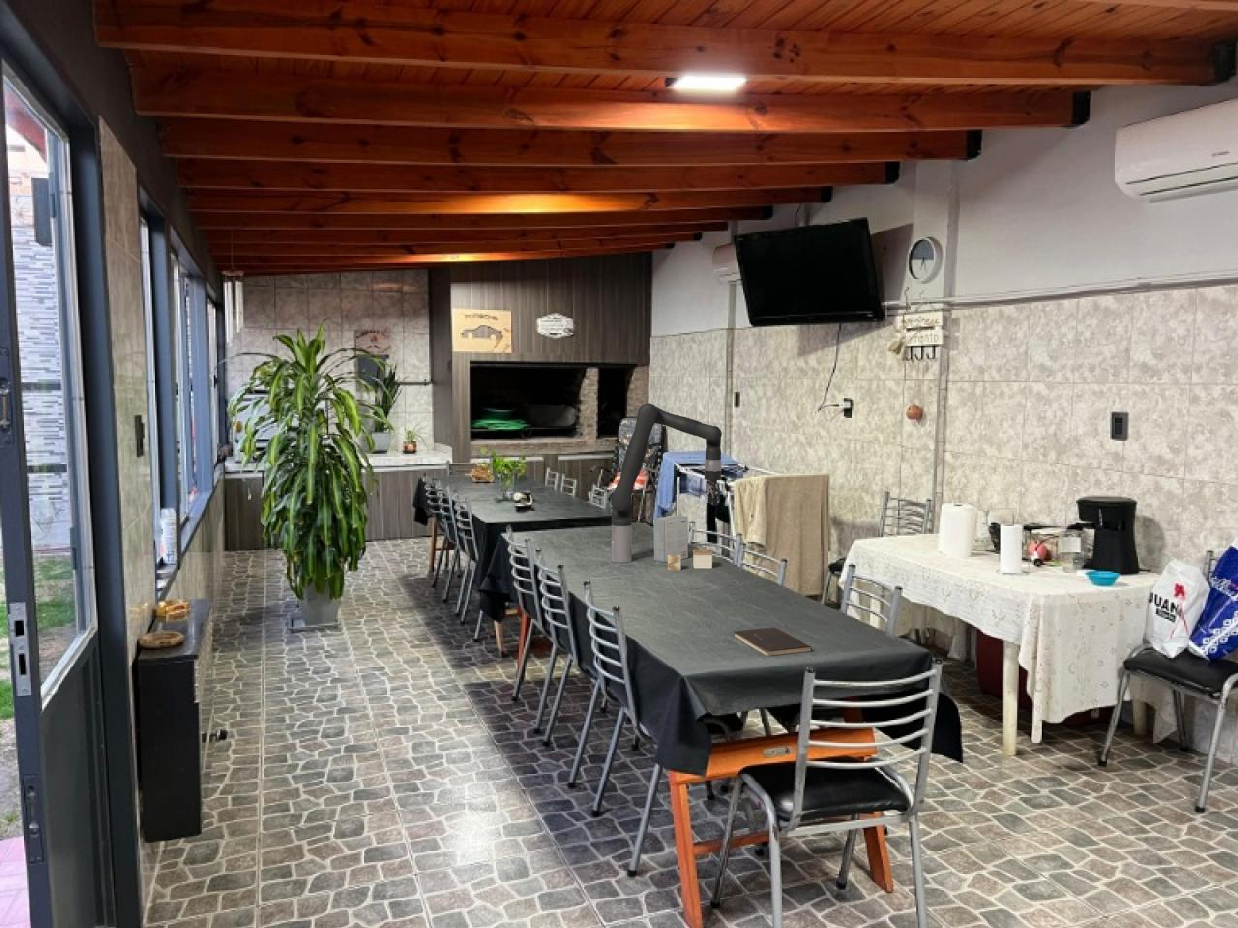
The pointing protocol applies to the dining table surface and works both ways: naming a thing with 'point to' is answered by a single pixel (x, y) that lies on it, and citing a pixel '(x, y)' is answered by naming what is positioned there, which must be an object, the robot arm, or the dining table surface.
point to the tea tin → (702, 558)
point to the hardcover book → (772, 641)
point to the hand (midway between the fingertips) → (712, 504)
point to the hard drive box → (670, 537)
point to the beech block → (673, 562)
